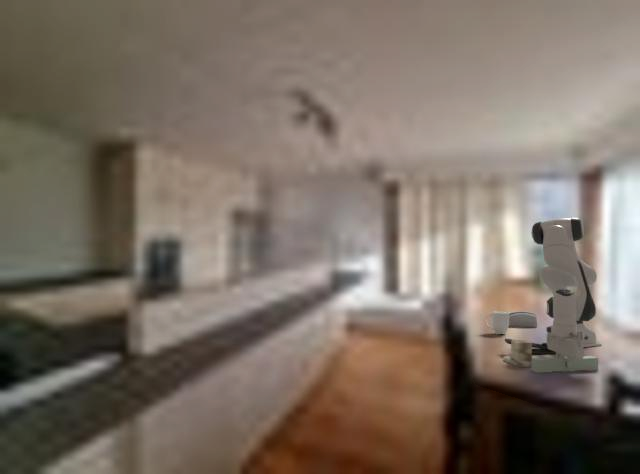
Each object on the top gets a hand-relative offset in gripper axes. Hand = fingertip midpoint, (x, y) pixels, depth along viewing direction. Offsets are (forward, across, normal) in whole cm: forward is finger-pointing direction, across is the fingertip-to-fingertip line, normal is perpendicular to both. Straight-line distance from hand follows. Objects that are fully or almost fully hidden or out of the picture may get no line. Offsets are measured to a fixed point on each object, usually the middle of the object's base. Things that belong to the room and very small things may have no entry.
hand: (564, 365), depth 227 cm
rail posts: (+2, +14, 0) cm, 14 cm away
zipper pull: (+2, +28, -2) cm, 28 cm away
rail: (+2, 0, 0) cm, 2 cm away
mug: (+2, +78, -10) cm, 79 cm away
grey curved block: (+2, +98, -35) cm, 105 cm away
